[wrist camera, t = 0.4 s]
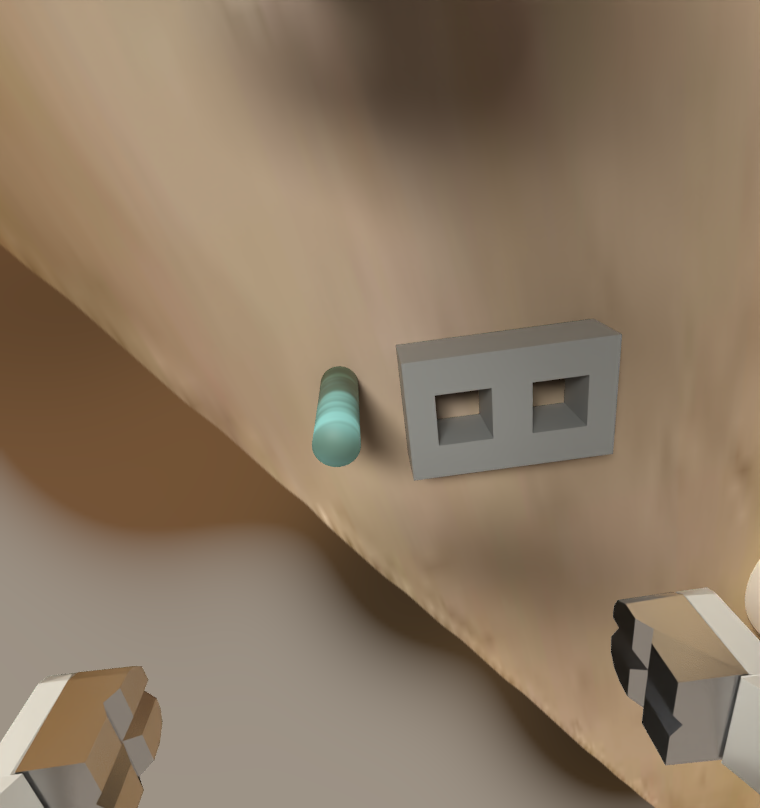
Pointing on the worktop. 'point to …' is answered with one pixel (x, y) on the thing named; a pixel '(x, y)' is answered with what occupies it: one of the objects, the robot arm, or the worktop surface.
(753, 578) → the ring with crossbar
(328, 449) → the teal peg
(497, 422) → the socket block
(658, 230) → the worktop surface
